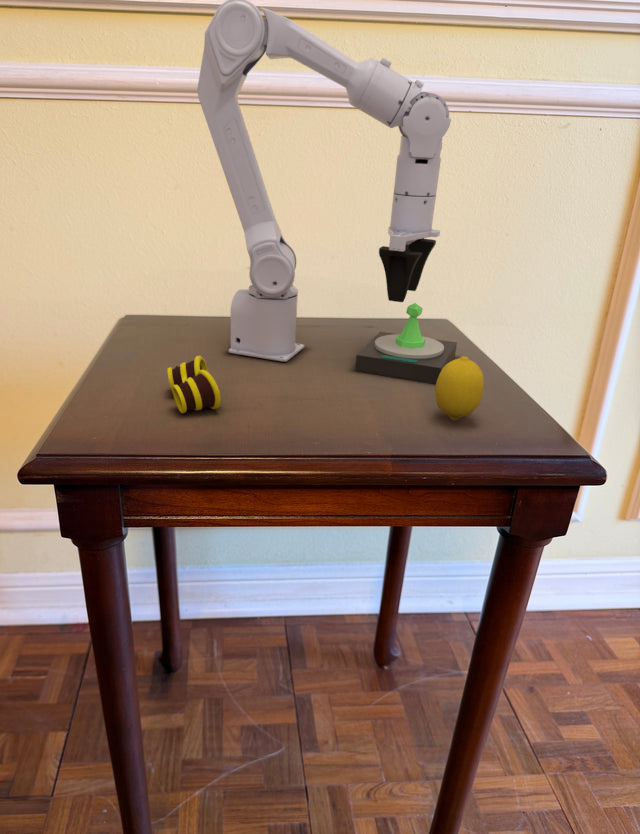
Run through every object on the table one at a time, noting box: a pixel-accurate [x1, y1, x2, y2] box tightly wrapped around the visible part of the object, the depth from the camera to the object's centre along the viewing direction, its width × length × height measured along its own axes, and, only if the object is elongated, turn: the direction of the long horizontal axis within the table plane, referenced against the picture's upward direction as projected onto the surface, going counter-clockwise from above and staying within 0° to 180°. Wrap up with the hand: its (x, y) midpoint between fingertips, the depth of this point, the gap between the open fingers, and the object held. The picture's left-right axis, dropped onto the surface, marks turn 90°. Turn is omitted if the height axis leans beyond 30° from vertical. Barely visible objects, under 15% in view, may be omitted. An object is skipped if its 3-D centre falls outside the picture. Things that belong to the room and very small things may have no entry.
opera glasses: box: [167, 355, 222, 414], centre depth 84 cm, size 10×5×5 cm, turn 15°
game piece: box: [395, 302, 425, 348], centre depth 98 cm, size 4×4×6 cm
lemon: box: [434, 355, 485, 421], centre depth 81 cm, size 6×6×8 cm
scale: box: [354, 331, 458, 385], centre depth 100 cm, size 12×13×3 cm
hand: (402, 295), depth 99 cm, fingers open, 7 cm apart
